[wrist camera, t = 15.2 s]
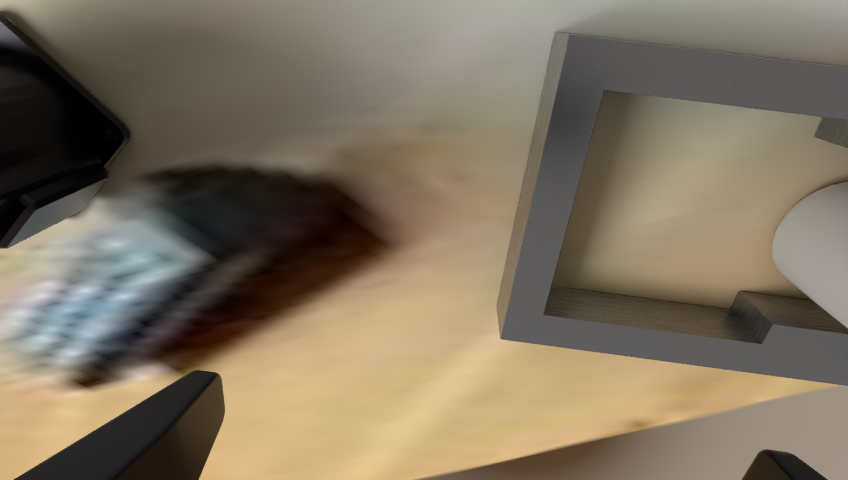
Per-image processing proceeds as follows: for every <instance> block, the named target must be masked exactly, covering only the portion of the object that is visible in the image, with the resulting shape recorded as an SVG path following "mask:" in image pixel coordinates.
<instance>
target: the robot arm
mask: <svg viewBox="0 0 848 480" xmlns="http://www.w3.org/2000/svg"><path fill="white" fill-rule="evenodd" d="M112 130H115V131H116V132H117V134H118V138H117V137H115V136H114V134H113V132H112ZM129 139H130V133H129V130H128V128H127V127H126V126H125V125H124V124H123V123H122V122H121V121H120V120H119V119H118V118H117V117H115V116H114V115H113V114H112V113H111V112H110V111H109V110H108V109H107V108H105V107H104V106H103V105H102V104H101V103H100V102H99V101H98V100H97V99H95V98H94V97H93V96H92V95H91V94H90V93H89V92H88V91H87V90H85V89H84V88H83V87H82V86H81V85H80V84H79V83H78V82H77V81H75V80H74V79H73V78H72V77H71V76H70V75H69V74H68V73H67V72H65V71H64V70H63V69H62V68H61V67H60V66H59V65H58V64H57V63H55V62H54V61H53V60H52V59H51V58H50V57H49V56H48V55H47V54H45V53H44V52H43V51H42V50H41V49H40V48H39V47H38V46H37V45H35V44H34V43H33V42H32V41H31V40H30V39H29V38H28V37H27V36H25V35H24V34H23V33H22V32H21V31H20V30H19V29H18V28H17V27H15V26H14V25H13V24H12V23H11V22H10V21H9V20H8V19H7V18H5V17H4V16H3V15H2V14H0V249H2V248H9V247H11V246H13V245H15V244H17V243H19V242H21V241H23V240H25V239H27V238H29V237H31V236H33V235H35V234H37V233H39V232H40V231H42V230H44V229H46V228H48V227H50V226H52V225H54V224H57V223H59V222H61V221H63V220H64V219H66V218H68V217H70V216H72V215H74V214H76V213H78V212H80V211H81V210H83V208H84V207H85V206H86V205H87V204H88V202H89V201H90V200H91V199H92V198H93V196H94V195H95V194H96V193H97V191H98V190H99V189H100V188H101V187H102V185H103V184H104V183H105V182H106V180H107V179H108V178H109V171H108V170H107V167H108V166H109V165H110V164H111V162H112V161H113V160H114V159H115V157H116V156H117V155H118V154H119V152H120V151H121V150H122V149H123V148H124V146H125V145H126V144H127V143H128V141H129ZM224 414H225V404H224V395H223V386H222V379H221V376H220V375H219V374H218V373H215V372H208V371H200V370H196V371H193V372H190V373H189V374H187V375H185V376H184V377H182V378H180V379H179V380H177V381H175V382H174V383H172V384H170V385H169V386H167V387H166V388H164V389H162V390H161V391H159V392H157V393H156V394H154V395H152V396H151V397H149V398H147V399H146V400H144V401H142V402H141V403H139V404H137V405H136V406H134V407H133V408H131V409H129V410H128V411H126V412H124V413H123V414H121V415H119V416H118V417H116V418H114V419H113V420H111V421H109V422H108V423H106V424H105V425H103V426H101V427H100V428H98V429H96V430H95V431H93V432H91V433H90V434H88V435H86V436H85V437H83V438H81V439H80V440H78V441H77V442H75V443H73V444H72V445H70V446H68V447H67V448H65V449H63V450H62V451H60V452H58V453H57V454H55V455H53V456H52V457H50V458H48V459H47V460H45V461H44V462H42V463H40V464H39V465H37V466H35V467H34V468H32V469H30V470H29V471H27V472H25V473H24V474H22V475H20V476H19V477H17V478H16V479H14V480H199V477H200V475H201V473H202V470H203V468H204V466H205V463H206V461H207V458H208V456H209V454H210V451H211V449H212V446H213V444H214V442H215V439H216V437H217V434H218V432H219V430H220V427H221V425H222V422H223V419H224ZM742 480H827V479H826V478H825V477H823V476H822V475H820V474H819V473H818V472H817V471H815V470H814V469H813V468H811V467H810V466H809V465H807V464H806V463H804V462H803V461H802V460H800V459H799V458H798V457H796V456H795V455H793V454H791V453H788V452H782V451H775V450H768V449H767V450H762V451H760V452H759V453H758V454H757V456H756V457H755V459H754V460H753V462H752V464H751V465H750V467H749V469H748V470H747V472H746V473H745V475H744V477H743V478H742Z"/></svg>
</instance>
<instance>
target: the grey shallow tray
mask: <svg viewBox="0 0 848 480" xmlns="http://www.w3.org/2000/svg"><path fill="white" fill-rule="evenodd" d="M604 90H609V91H617V92H626V93H634V94H642V95H650V96H658V97H666V98H674V99H683V100H691V101H699V102H707V103H715V104H723V105H731V106H739V107H748V108H756V109H764V110H772V111H780V112H788V113H796V114H805V115H813V116H821V117H823V119H822V121H821V123H820V125H819V127H818V130H817V132H816V134H815V136H814V137H817V138H820V139H823V140H826V141H829V142H831V143H834V144H837V145H840V146H843V147H846V148H848V67H840V66H832V65H824V64H815V63H807V62H799V61H790V60H782V59H774V58H766V57H757V56H749V55H741V54H732V53H724V52H716V51H708V50H699V49H691V48H683V47H674V46H666V45H658V44H650V43H641V42H633V41H625V40H616V39H608V38H600V37H592V36H583V35H575V34H567V33H558V32H555V35H554V40H553V44H552V49H551V54H550V58H549V63H548V68H547V72H546V77H545V82H544V86H543V91H542V96H541V100H540V105H539V110H538V115H537V119H536V124H535V129H534V133H533V138H532V143H531V147H530V152H529V157H528V161H527V166H526V171H525V175H524V180H523V185H522V189H521V194H520V199H519V204H518V208H517V213H516V218H515V222H514V227H513V232H512V236H511V241H510V246H509V250H508V255H507V260H506V264H505V269H504V274H503V278H502V283H501V288H500V293H499V297H498V302H497V314H498V323H499V331H500V339H503V340H511V341H518V342H526V343H533V344H541V345H548V346H555V347H563V348H570V349H578V350H585V351H593V352H600V353H608V354H615V355H623V356H630V357H637V358H645V359H652V360H660V361H667V362H675V363H682V364H690V365H697V366H704V367H712V368H719V369H727V370H734V371H742V372H749V373H757V374H764V375H771V376H779V377H786V378H794V379H801V380H809V381H816V382H824V383H831V384H838V385H846V386H848V328H846V327H845V326H844V325H843V324H841V323H840V322H839V321H838V320H836V319H835V318H834V317H833V316H832V315H830V314H829V313H828V312H827V311H825V310H824V309H823V308H822V307H820V306H819V305H818V304H817V303H815V302H814V301H812V300H804V299H796V298H789V297H781V296H773V295H766V294H758V293H750V292H743V291H739V292H738V294H737V296H736V299H735V301H734V303H733V305H732V307H731V309H723V308H716V307H708V306H701V305H693V304H685V303H678V302H670V301H663V300H655V299H647V298H640V297H632V296H625V295H617V294H609V293H602V292H594V291H587V290H579V289H572V288H564V287H556V286H551V284H552V280H553V277H554V273H555V269H556V265H557V262H558V258H559V254H560V251H561V247H562V243H563V239H564V236H565V232H566V228H567V225H568V221H569V217H570V214H571V210H572V206H573V202H574V199H575V195H576V191H577V188H578V184H579V180H580V177H581V173H582V169H583V165H584V162H585V158H586V154H587V151H588V147H589V143H590V139H591V136H592V132H593V128H594V125H595V121H596V117H597V114H598V110H599V106H600V102H601V99H602V95H603V91H604Z"/></svg>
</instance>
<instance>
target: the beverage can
mask: <svg viewBox="0 0 848 480" xmlns="http://www.w3.org/2000/svg"><path fill="white" fill-rule="evenodd" d="M772 257H773V260H774V263H775V266H776V268H777V269H778V271H779V272H780V273H781V274H782V275H783V276H784V277H785V278H786V279H787V280H788V281H790V282H791V283H792V284H793V285H794V286H796V287H797V288H798V289H799V290H801V291H802V292H803V293H804V294H806V295H807V296H808V297H809V298H811V299H812V300H813V301H814V302H815V303H817V304H818V305H819V306H820V307H822V308H823V309H824V310H825V311H827V312H828V313H829V314H830V315H832V316H833V317H834V318H835V319H836V320H838V321H839V322H840V323H841V324H843V325H844V326H845V327H846V328H848V181H847V182H842V183H838V184H833V185H830V186H827V187H825V188H823V189H820V190H818V191H816V192H813V193H811V194H809V195H808V196H806V197H805V198H803V199H802V200H800V201H799V202H797V203H796V204H795V205H794V206H793V207H792V208H791V209H790V210H789V211H788V212H787V213H786V214H785V216H784V217H783V219H782V220H781V222H780V223H779V225H778V227H777V230H776V232H775V235H774V238H773V241H772Z"/></svg>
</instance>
